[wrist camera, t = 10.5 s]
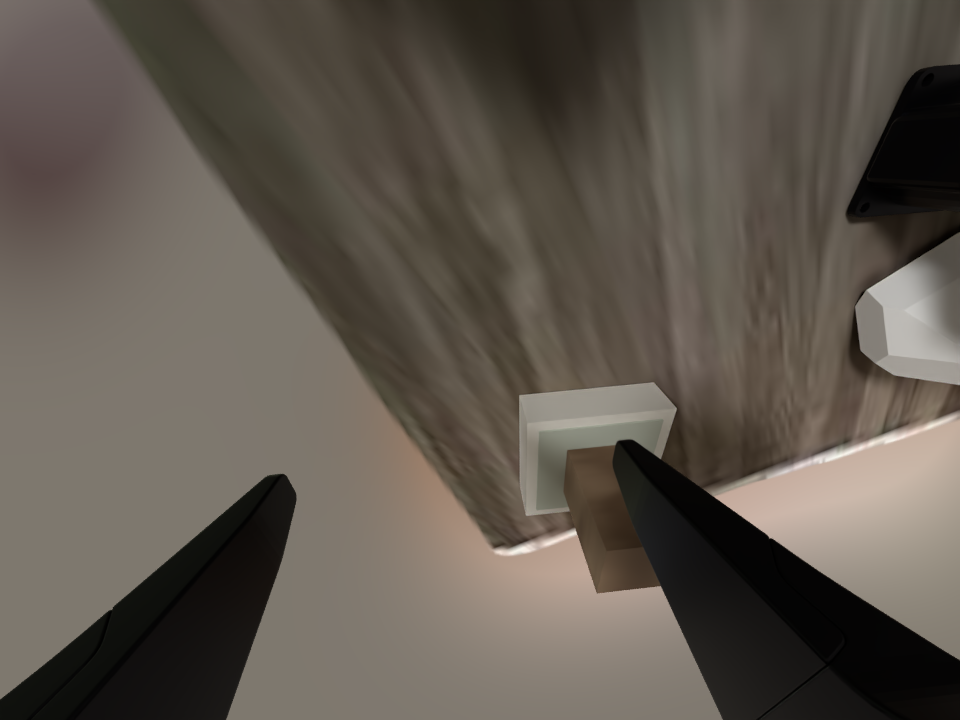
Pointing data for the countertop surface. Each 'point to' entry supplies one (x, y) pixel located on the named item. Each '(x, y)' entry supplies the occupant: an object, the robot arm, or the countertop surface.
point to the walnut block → (604, 522)
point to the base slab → (583, 433)
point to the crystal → (916, 317)
